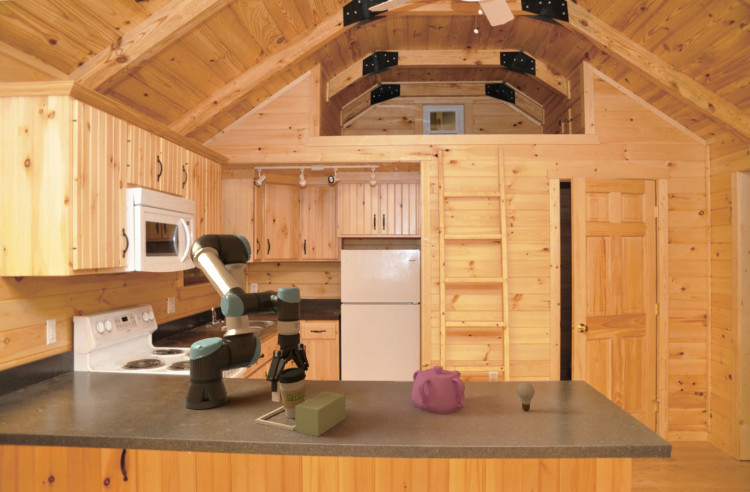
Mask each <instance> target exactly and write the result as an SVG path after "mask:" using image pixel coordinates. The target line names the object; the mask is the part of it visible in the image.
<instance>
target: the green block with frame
mask: <svg viewBox="0 0 750 492" xmlns="http://www.w3.org/2000/svg"><path fill="white" fill-rule="evenodd" d="M346 410H347V409H346V394H344V393H340V392H339V393H338V392H332V391H326V390H324V391H322V392H320V393H317V394H316V395H314V396H312V397H310V398H308V399H305V401H304V402H302V403H300V404H298V405H296V406H295V418H294V419H295V420H294V421H295V423H294V424H293V425H288V424H284V423H279V422H274V421H271V420H267V419H268V418H271V417H272V416H274V415H276V414H278V413H280V412H282V411H285V409H284V406H283V405H282V406H279V407H277V408H275V409H274V410H271V411H269V412H268V413H266V414H263V415H261V416H259V417H258V418H255V419H254V423H255V424H260V425H263V426H267V427H273V428H276V429H277V428H279V429H283V430H287V431H291V432H293V431H295V432H296V433H301V434H306V435H308V436H309V435H311V436H314V437H319V436H320V435H321V436H322V435H323V434H324V433H325V432H328V430H330V429H332V428H333V427H335V426H336V425H338V424H339V423H340V422H342V421H343V420H345V419H346V413H347V412H346Z"/></svg>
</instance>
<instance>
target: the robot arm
mask: <svg viewBox="0 0 750 492" xmlns="http://www.w3.org/2000/svg"><path fill="white" fill-rule="evenodd" d="M251 248H252V247H251V243H250V242H249V239H248V238H246V236H244V235H242V234H234V233H233V234H224V233H223V234H219V233H215V234H214V233H207V234H204V235H201V236H199V237H197V238H196V239H195V240H194V242H193V243H192V245H191V247H190V250H189V256H190V257H189V258H190V259H191V263H192V264H193V265H194V266H195V267H196V268H197V269H200V270H201V271H202V273H203V274H204V276H205V277H206V279H207V280H208V281H209V283H210V284H211V285H212V287H213V288H214V289H215V291H216V292H217V294H218V295H219V296H220V298H221V299H220V309H221V314H222V315H223V316H224V317H225V325H226V332H225V333H224V334H223V338H221V337H217V336H216V337H208V338H203V339H200V340H198V341H197V340H196V341H195V342H193V343H192V344H191V346H190V348H189V354H188V357H189V385H188V389H187V392H186V396H185V397H184V406H185V408H188V409H191V410H205V409H206V410H207V409H213V408H217V407H219V406H220V407H221V406H222V405H225V404H226V403H227V402H228V401H229V399H228V397H229V396H228V392H227V390H226V386H225V384H224V380H223V379H224V378H223V375H224V374H223V373H224V372H227V371H232V370H237V369H243V368H244V369H245V368H248V367H252V366H254V365H255V364H257V362H258V361H259V360H260V357H261V354H262V344H261V340H260V339H259V338H260V337H258V336H257V335H255V334H254V333H255V332H254V331H253V330H252V329H251V328H250V324H249V316H252V315H261V314H272V313H273V314H277V333H278V334H277V344H278V346H279V349H278V350H276V349H274V350H273V351H272V359H271V363H270V365H269V368H268V372H267V376H266V379H265V380H266V382H270V383H271V384H270V388H271V389H270V390H271V401H272V402H276V403H280V402H281V392H280V381H278V380H279V378H280V376H281V373H282V371H283V370H284V369H285V366H286V365H287V364H288V362H290V361H291V360H292V361H293V362H294V364H295V365H296V366H295V367H296V368H302V369H303V370H304V372H305V373H306V372H307V371H308V370H309V368H310V363H309V360H308V357H307V354H306V351H305V344H304V343H301V333H300V332H301V300H302V299H301V290H300V288H299V287H295V286H283V287H279V288H278V290H277V291H275V290H272V289H271V290H264V291H260V292H259V291H257V292H247V291H246V283H245V274H244V270H245V268H246V267H247V265H248V264H247V263H248V262H250V260H251V255H252V249H251Z"/></svg>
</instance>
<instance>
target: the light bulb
mask: <svg viewBox="0 0 750 492" xmlns="http://www.w3.org/2000/svg"><path fill="white" fill-rule="evenodd" d="M534 387H535V386H533V384H531V383H530V382H528V381H522V382H520V383H519V384H518V385H517V388H516V392H517V395H518V396H519V398H520V402H521V408H522V410H523V411H525V412H527V411H529V410H530V409H531V402H532V399H533V397H535V392H536V391H535V388H534Z"/></svg>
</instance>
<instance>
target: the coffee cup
mask: <svg viewBox="0 0 750 492" xmlns="http://www.w3.org/2000/svg"><path fill="white" fill-rule="evenodd" d="M306 377H307V375H306V371H305V372H304V370H303V369H302V368H298V367H288V368H284V369H283V371H282V373H281V376H280V378H279V380H278V381H280V398H281V401H282V406H284V409H285V410H284V413H285V417H286V418H288V419H295V406H296V405H298V404H300V403H302V402H304V401H306V397H305V396H306V380H305V379H306Z"/></svg>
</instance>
